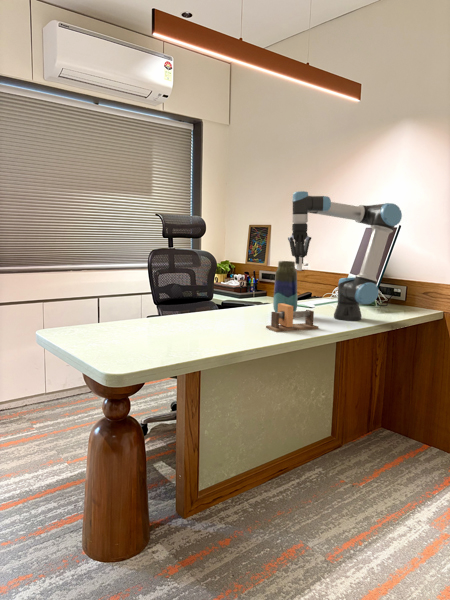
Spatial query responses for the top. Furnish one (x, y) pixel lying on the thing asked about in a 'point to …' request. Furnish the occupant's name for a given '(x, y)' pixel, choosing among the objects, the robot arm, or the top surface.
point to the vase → (285, 285)
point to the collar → (286, 315)
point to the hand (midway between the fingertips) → (299, 270)
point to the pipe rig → (302, 326)
